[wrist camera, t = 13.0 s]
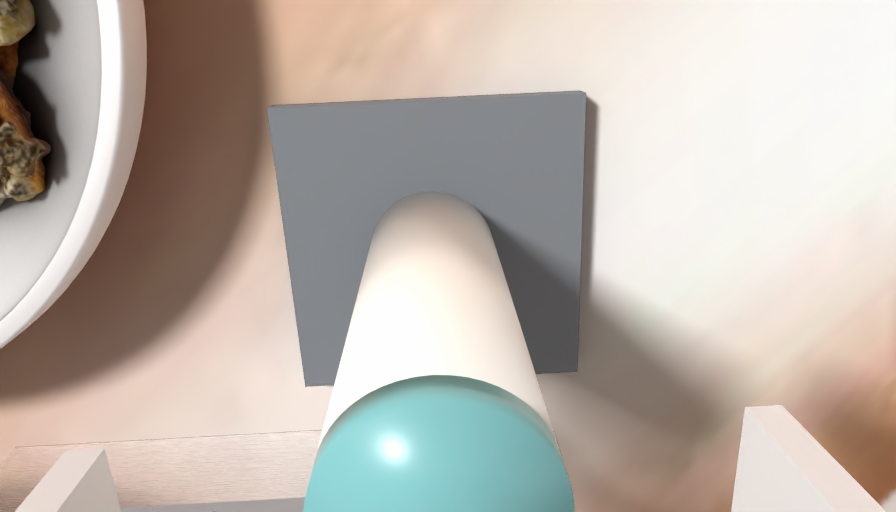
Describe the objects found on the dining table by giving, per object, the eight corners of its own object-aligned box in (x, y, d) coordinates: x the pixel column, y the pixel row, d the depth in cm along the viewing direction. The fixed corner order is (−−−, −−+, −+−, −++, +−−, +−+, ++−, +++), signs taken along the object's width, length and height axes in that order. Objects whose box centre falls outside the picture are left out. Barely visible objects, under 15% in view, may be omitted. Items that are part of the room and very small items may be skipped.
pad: (309, 374, 29) (305, 386, 28) (272, 105, 25) (266, 108, 24) (572, 360, 29) (577, 371, 28) (580, 90, 25) (586, 93, 24)
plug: (375, 310, 27) (319, 629, 12) (365, 194, 25) (285, 413, 11) (494, 303, 27) (571, 614, 13) (492, 188, 25) (577, 397, 11)
